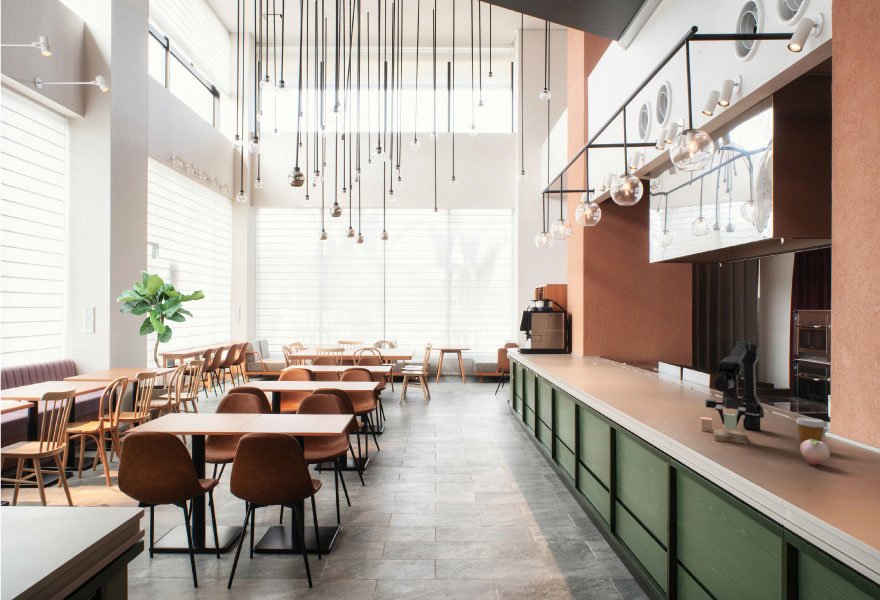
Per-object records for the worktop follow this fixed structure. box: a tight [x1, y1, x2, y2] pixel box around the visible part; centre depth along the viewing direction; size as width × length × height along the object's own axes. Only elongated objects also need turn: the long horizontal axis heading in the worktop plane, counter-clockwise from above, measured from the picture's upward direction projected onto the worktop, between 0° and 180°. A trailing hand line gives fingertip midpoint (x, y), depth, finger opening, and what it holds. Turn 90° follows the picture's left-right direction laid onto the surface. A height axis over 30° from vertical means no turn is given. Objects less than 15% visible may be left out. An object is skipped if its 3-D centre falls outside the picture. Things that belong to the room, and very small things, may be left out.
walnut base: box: [712, 428, 749, 445], centre depth 217 cm, size 12×12×2 cm
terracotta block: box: [699, 416, 713, 433], centre depth 233 cm, size 4×4×6 cm
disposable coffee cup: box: [795, 416, 826, 447], centre depth 203 cm, size 10×10×12 cm
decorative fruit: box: [799, 437, 831, 466], centre depth 182 cm, size 9×8×10 cm
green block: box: [722, 412, 738, 430], centre depth 217 cm, size 4×4×6 cm
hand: (729, 425), depth 217 cm, fingers closed on green block, 4 cm apart
